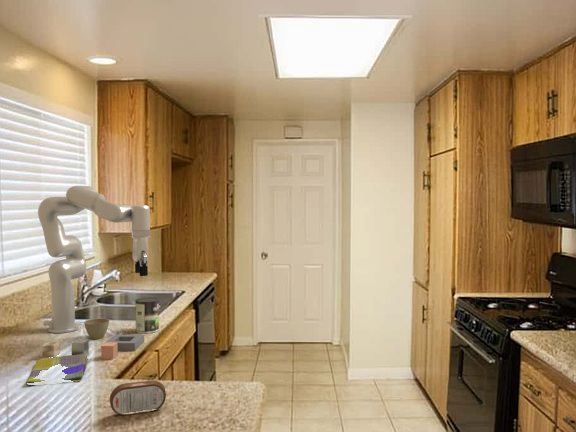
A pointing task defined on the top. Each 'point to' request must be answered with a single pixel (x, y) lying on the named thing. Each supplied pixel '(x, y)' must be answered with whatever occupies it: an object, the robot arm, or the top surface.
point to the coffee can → (147, 315)
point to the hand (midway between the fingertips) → (141, 274)
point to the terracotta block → (109, 350)
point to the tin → (137, 396)
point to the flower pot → (96, 327)
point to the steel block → (80, 347)
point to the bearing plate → (127, 342)
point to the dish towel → (73, 363)
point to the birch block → (50, 349)
